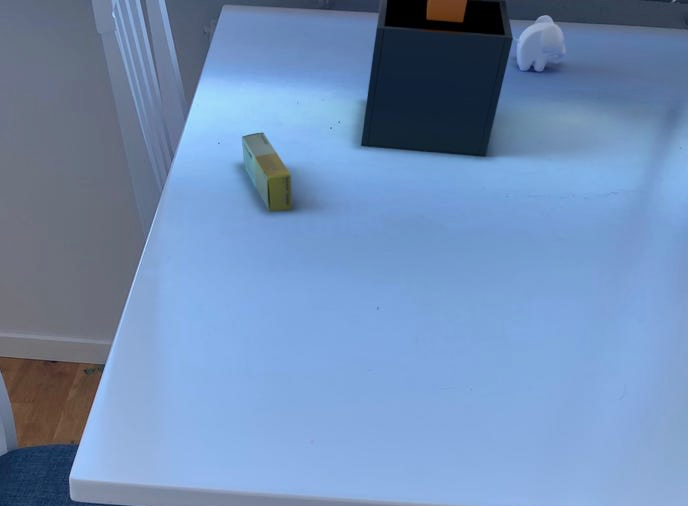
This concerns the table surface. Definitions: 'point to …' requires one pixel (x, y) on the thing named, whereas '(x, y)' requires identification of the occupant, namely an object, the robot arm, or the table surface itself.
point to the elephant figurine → (540, 44)
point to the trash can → (436, 78)
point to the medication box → (267, 172)
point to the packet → (446, 10)
